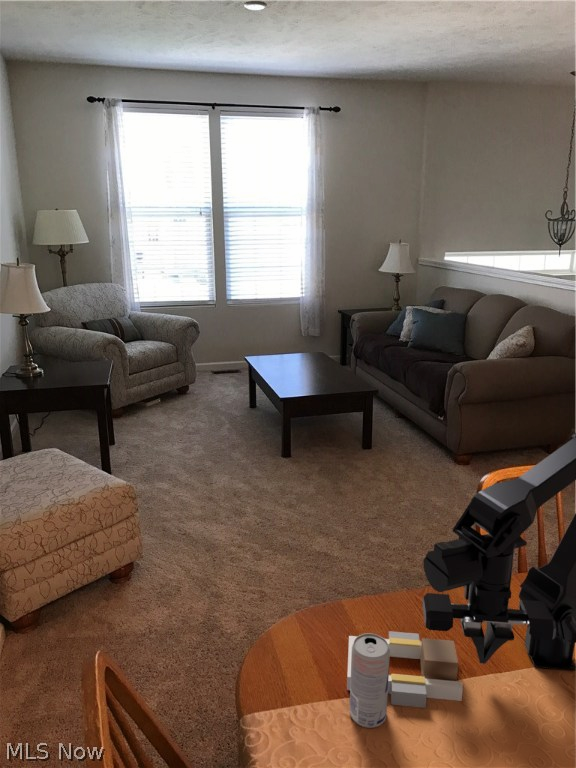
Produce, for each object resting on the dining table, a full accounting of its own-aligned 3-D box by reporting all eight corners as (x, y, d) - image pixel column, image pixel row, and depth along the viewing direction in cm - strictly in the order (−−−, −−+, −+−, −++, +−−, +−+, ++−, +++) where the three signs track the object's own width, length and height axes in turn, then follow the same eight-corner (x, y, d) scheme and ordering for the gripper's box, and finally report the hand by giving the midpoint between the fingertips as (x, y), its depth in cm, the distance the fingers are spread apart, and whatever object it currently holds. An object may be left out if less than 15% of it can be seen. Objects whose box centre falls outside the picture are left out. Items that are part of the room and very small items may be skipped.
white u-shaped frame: (450, 648, 99) (452, 634, 99) (463, 711, 87) (465, 696, 86) (348, 639, 102) (349, 626, 101) (346, 699, 89) (346, 685, 88)
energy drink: (385, 701, 88) (388, 633, 85) (387, 730, 83) (391, 659, 80) (349, 698, 89) (351, 631, 86) (349, 727, 84) (352, 657, 81)
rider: (451, 666, 96) (453, 640, 94) (455, 690, 91) (458, 663, 89) (420, 664, 96) (421, 638, 95) (422, 687, 91) (424, 660, 90)
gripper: (540, 549, 94) (530, 632, 98) (422, 541, 96) (416, 623, 101) (563, 590, 84) (550, 682, 88) (429, 581, 86) (422, 670, 90)
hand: (482, 661), depth 92 cm, fingers closed
